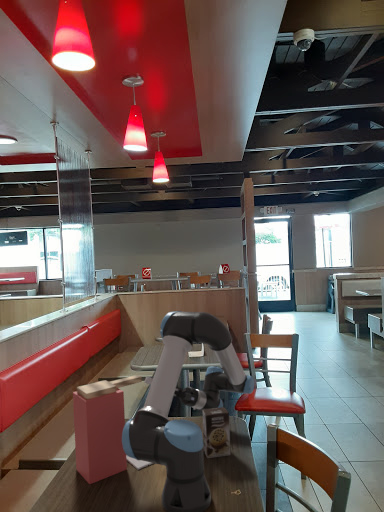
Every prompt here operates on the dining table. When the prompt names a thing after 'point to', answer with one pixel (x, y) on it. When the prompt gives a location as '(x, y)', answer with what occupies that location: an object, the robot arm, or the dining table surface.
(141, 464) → the mat
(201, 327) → the robot arm
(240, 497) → the dining table surface
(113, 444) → the red rectangular block
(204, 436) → the coffee box
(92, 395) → the tan flat paddle-shaped piece
